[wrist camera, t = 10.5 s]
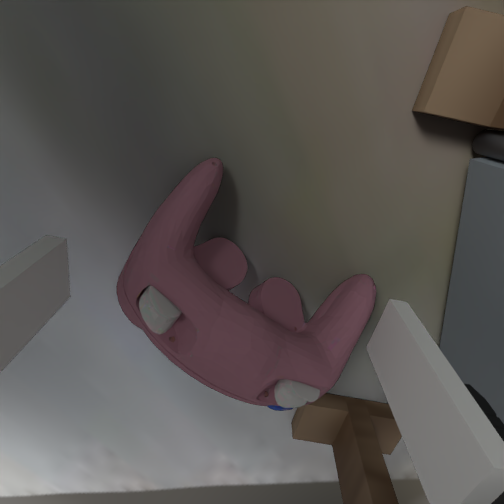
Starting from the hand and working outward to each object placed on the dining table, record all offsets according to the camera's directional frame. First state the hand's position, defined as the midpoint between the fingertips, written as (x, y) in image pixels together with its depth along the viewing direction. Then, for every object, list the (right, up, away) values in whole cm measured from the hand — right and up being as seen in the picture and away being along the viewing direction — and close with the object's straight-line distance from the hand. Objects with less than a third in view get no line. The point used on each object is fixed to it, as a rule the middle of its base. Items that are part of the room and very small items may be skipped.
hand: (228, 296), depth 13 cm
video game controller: (+1, +1, +2) cm, 3 cm away
